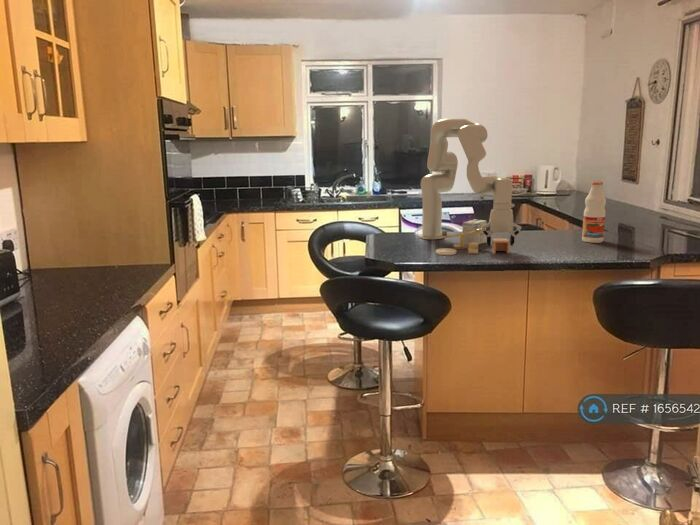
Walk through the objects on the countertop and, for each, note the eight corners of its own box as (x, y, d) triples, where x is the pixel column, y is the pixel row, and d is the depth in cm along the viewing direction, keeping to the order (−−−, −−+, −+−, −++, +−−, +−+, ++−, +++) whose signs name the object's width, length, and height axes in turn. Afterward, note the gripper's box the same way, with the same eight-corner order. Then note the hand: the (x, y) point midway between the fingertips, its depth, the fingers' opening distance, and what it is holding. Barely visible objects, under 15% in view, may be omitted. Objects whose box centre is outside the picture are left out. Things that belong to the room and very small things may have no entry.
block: (467, 251, 260) (468, 242, 259) (476, 251, 259) (477, 242, 258) (468, 253, 256) (469, 244, 255) (478, 253, 255) (478, 244, 254)
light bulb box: (474, 240, 282) (475, 218, 279) (486, 242, 277) (487, 220, 274) (461, 244, 274) (462, 221, 272) (473, 246, 270) (474, 223, 267)
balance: (438, 246, 270) (439, 228, 268) (482, 246, 268) (483, 228, 266) (439, 249, 265) (440, 230, 263) (484, 248, 263) (485, 230, 261)
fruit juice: (597, 239, 280) (602, 180, 273) (606, 242, 271) (611, 182, 264) (578, 239, 280) (582, 181, 273) (586, 243, 271) (591, 183, 264)
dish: (435, 250, 261) (435, 248, 261) (455, 250, 260) (455, 248, 260) (436, 255, 252) (436, 252, 252) (457, 255, 252) (457, 252, 251)
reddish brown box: (491, 250, 260) (492, 238, 259) (506, 250, 259) (506, 238, 258) (494, 253, 254) (494, 241, 252) (508, 253, 253) (509, 241, 252)
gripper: (520, 205, 255) (518, 243, 259) (480, 205, 256) (479, 243, 260) (524, 208, 248) (522, 247, 252) (483, 208, 249) (481, 247, 253)
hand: (500, 245), depth 256 cm, fingers open, 9 cm apart
